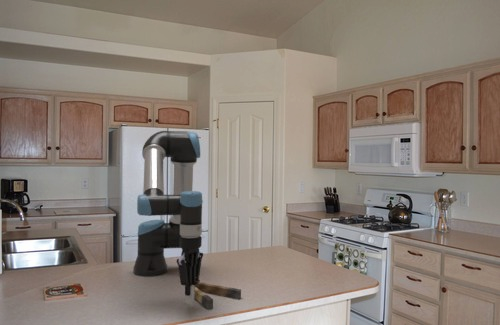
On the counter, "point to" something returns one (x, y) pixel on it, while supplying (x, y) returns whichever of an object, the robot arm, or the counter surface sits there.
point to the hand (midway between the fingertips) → (189, 303)
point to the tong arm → (203, 298)
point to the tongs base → (219, 290)
